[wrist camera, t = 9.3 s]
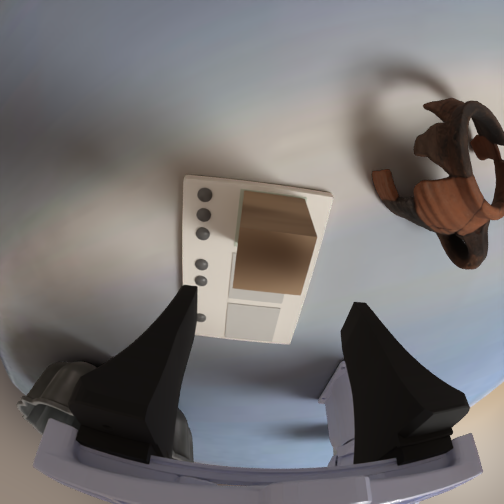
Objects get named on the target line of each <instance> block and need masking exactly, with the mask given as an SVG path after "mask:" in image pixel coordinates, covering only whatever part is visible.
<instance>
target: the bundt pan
mask: <svg viewBox="0 0 504 504" xmlns="http://www.w3.org/2000/svg"><path fill="white" fill-rule="evenodd" d="M96 368H97V367H95V366H94V365H92V364H89V363H87V362H80V361H79V362H72V363H69V362H56V363H53V364H52V365H50V366H49V367H48V368H47V369H46V370H45V371H44V372H43V374H42V375H41V377H40V378H39V379H38V380H37V382H36V383H35V385H34V386H33V387H32V389H31V390H30V392H29V393H28V394H27V396H22V398H21V400H22V401H19V402H18V403H17V407H18V409H19V411H20V412H21V413H22V414H23V418H24V419H25V420H26V421H28V422H29V423H30V424H32V426H33V427H34V428H35V430H37V431H38V432H39V433H40V434H42V435H43V433H44V430H45V427H46V425H47V422H48V419H50V418H52V419H54V420H57V421H59V422H62V423H64V424H67V425H70V426H72V427H74V428H76V429H77V430H78V431H79V428H80V425H81V424H80V423H79V421H78V420H77V419H76V418H75V416H74V415H73V414H72V413H71V411H70V409H69V408H68V401H69V399H70V396H71V394H72V391H73V389H74V387H75V385H76V383H77V382H78V380H79V378H80V376H83V375H85V374H86V373H88V372H90V371H92V370H94V369H96ZM172 459H174V460H180V461H186V462H193V463H194V461H193V442H192V434H191V431H190V429H189V427H188V423H187V420H186V418H185V416H184V414H183V413H182V412H181V410H180V409H179V408H178V409H177V417H176V424H175V433H174V442H173V452H172Z"/></svg>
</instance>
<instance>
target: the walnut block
mask: <svg viewBox="0 0 504 504" xmlns="http://www.w3.org/2000/svg"><path fill="white" fill-rule="evenodd" d="M316 240H317V234H316V231H315V228H314V225H313V222H312V219H311V216H310V213H309V210H308V207H307V204H306V201H305V199H302V198H296V197H289V196H282V195H275V194H267V193H260V192H252V191H244V197H243V204H242V212H241V221H240V229H239V237H238V245H237V254H236V262H235V271H234V280H233V288H234V289H243V290H252V291H261V292H270V293H280V294H290V295H300V296H301V293H302V289H303V286H304V283H305V279H306V276H307V272H308V269H309V265H310V262H311V258H312V255H313V251H314V248H315V244H316Z"/></svg>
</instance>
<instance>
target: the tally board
mask: <svg viewBox="0 0 504 504" xmlns="http://www.w3.org/2000/svg"><path fill="white" fill-rule="evenodd" d="M244 191H252V192H260V193H267V194H275V195H282V196H289V197H296V198H302V199H305V201H306V204H307V207H308V210H309V213H310V216H311V219H312V222H313V225H314V228H315V231H316V234H317V240H316V244H315V248H314V251H313V255H312V258H311V262H310V265H309V269H308V272H307V276H306V279H305V283H304V286H303V289H302V293H301V296H300V295H290V294H280V293H270V292H261V291H252V290H243V289H234V288H233V280H234V271H235V262H236V254H237V245H238V237H239V229H240V221H241V212H242V204H243V197H244ZM333 198H334V197H333V195H332V194H331V193H328V192H322V191H316V190H310V189H303V188H297V187H290V186H283V185H276V184H268V183H261V182H253V181H244V180H236V179H227V178H217V177H207V176H196V175H186V176H185V177H184V180H183V221H182V265H183V285H191V286H198V300H197V324H196V330H195V335H200V336H208V337H216V338H224V339H233V340H243V341H253V342H264V343H276V344H290V343H291V340H292V337H293V334H294V331H295V328H296V325H297V322H298V319H299V316H300V312H301V309H302V306H303V303H304V300H305V297H306V294H307V290H308V287H309V284H310V281H311V277H312V274H313V271H314V267H315V264H316V260H317V257H318V253H319V250H320V246H321V243H322V239H323V236H324V232H325V228H326V225H327V221H328V217H329V214H330V210H331V206H332V202H333Z"/></svg>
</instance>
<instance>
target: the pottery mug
mask: <svg viewBox="0 0 504 504" xmlns="http://www.w3.org/2000/svg"><path fill="white" fill-rule="evenodd" d="M423 107H424V109H426V110H429V111H431V112H433V113H434V114H435V115H436V116H438V117H439V118H440V119H441V120H442V121H443V122H444V123H436V124H434V125H432V126H431V127H430V128H429V129H428V130H427V131H426V132H425V133H424V134H421V135H419V136H418V137H417V138H416V140H415V145H414V149H413V150H414V154H415V155H416V156H420V157H428V158H429V159H430V160H431V161H433V162H434V163H436V164H437V165H439V166H440V167H442V168H443V170H444V171H445V172H447V173H448V174H449V177H447V178H443V179H438V180H422V181H420V183H418V184H417V185H416V186H415V187H414V197H409V198H405V199H404V198H402V197H400V196H399V194H398V192H397V190H396V187H395V184H394V181H393V177H392V173H391V171H390V170H389V169H384V170H380V171H373V172H372V177H373V182H374V185H375V188H376V191H377V193H378V195H379V196H380V198H381V199H382V202H383V203H384V204H385V206H386V207H387V208H388V209H389V210H390V211H391V212H393V213H394V214H396V215H398V216H400V217H403V218H405V219H407V220H409V221H411V222H413V223H415V224H416V225H419V226H422V227H424V228H425V229H428V230H429V231H433V232H435V233H436V234H437V236H438V237H439V239H440V242H441V244H442V246H443V248H444V250H445V252H446V254H447V255H448V257H449V258H450V259H451V261H452V262H453V263H454V264H455V265H456V266H458V267H459V268H462V269H476V268H477V267H479V266H480V265H481V263H482V262H483V261H484V259H485V258H486V256H487V252H488V226H489V223H490V219H491V220H498V219H500V218H502V217H503V216H504V160H502V159H501V155H500V151H499V148H498V146H497V145H503V146H504V131H503V129H502V127H501V125H500V123H499V122H498V120H497V118H496V117H495V116H494V115H493V113H492V112H491V111H490V110H489V109H488V108H487V107H486V106H484V105H482V104H481V103H479V102H478V101H467V102H466V103H464V102H462V101H459V100H456V99H454V98H449V99H445V100H440V101H432V102H429V103H426V104H424V105H423ZM470 118H472V120H473V122H474V125H475V127H476V130H477V133H478V135H476V136H475V137H474V138H473V139H472V141H471V142H470V144H471V146H472V148H473V150H474V152H475V154H476V156H477V157H478V158H479V159H480V160H485V159H487V158H489V159H493V160H494V165H495V174H496V188H495V193H494V199H493V202H492V204H491V205H490V204H489V203H488V202H487V201H486V200H485V199H484V197H483V195H482V193H481V192H480V189H479V187H478V185H477V182H476V180H475V177H474V175H473V172H472V166H471V161H470V156H469V150H468V125H469V121H470ZM464 242H465V243H464Z"/></svg>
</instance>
